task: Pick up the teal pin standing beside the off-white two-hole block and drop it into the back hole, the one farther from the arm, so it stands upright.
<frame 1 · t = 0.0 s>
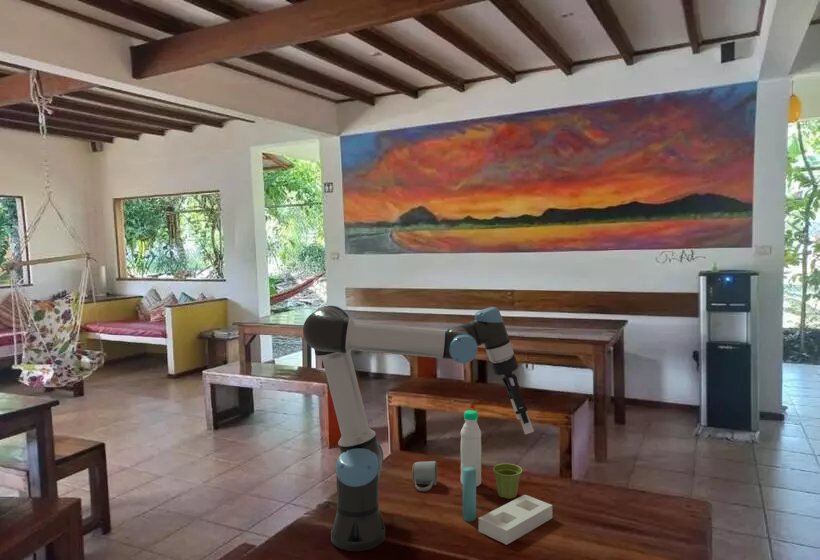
hand: (525, 425, 172), 28 cm above the table, tool tilted 20°, fingers open, 13 cm apart
hole block: (516, 524, 168), on the table
plant pot: (507, 495, 188), on the table
teal pin: (469, 518, 172), on the table
ceramic mug: (425, 485, 196), on the table
water bottle: (470, 484, 197), on the table
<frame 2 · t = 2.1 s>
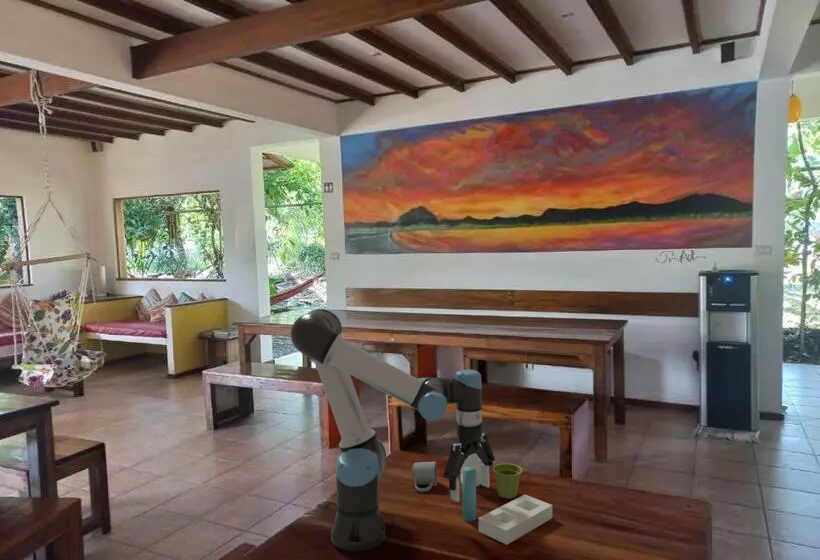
hand: (470, 492, 172), 8 cm above the table, tool pointing down, fingers open, 13 cm apart
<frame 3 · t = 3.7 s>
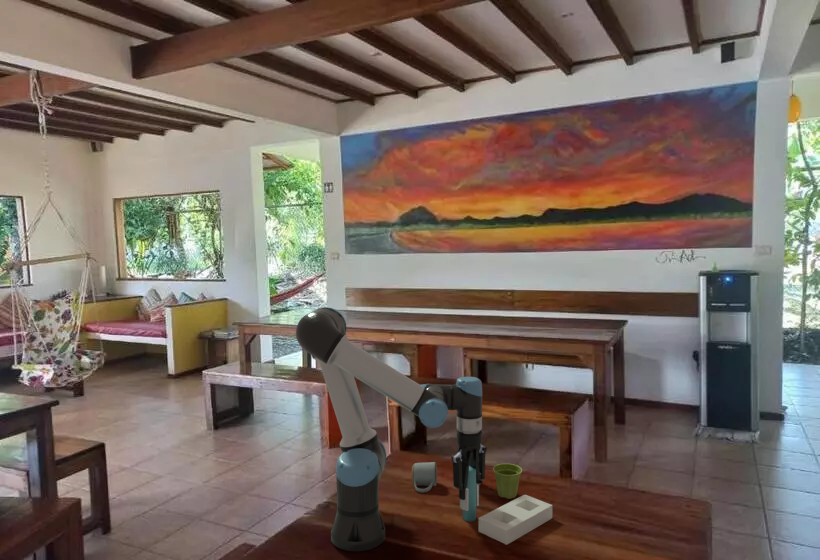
hand: (469, 506, 172), 4 cm above the table, tool pointing down, fingers closed on teal pin, 4 cm apart
teal pin: (469, 518, 172), on the table, touching gripper
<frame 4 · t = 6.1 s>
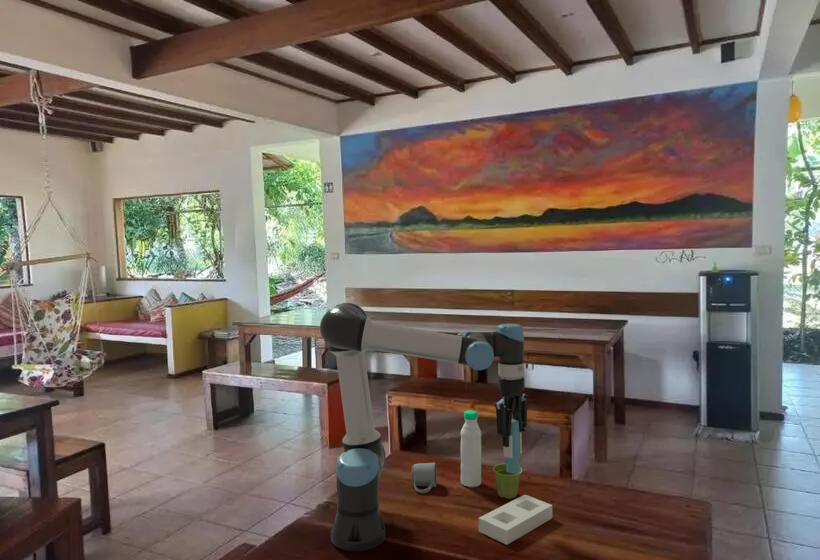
hand: (512, 454, 171), 20 cm above the table, tool pointing down, fingers closed on teal pin, 4 cm apart
teal pin: (512, 470, 171), point 15 cm above the table, touching gripper
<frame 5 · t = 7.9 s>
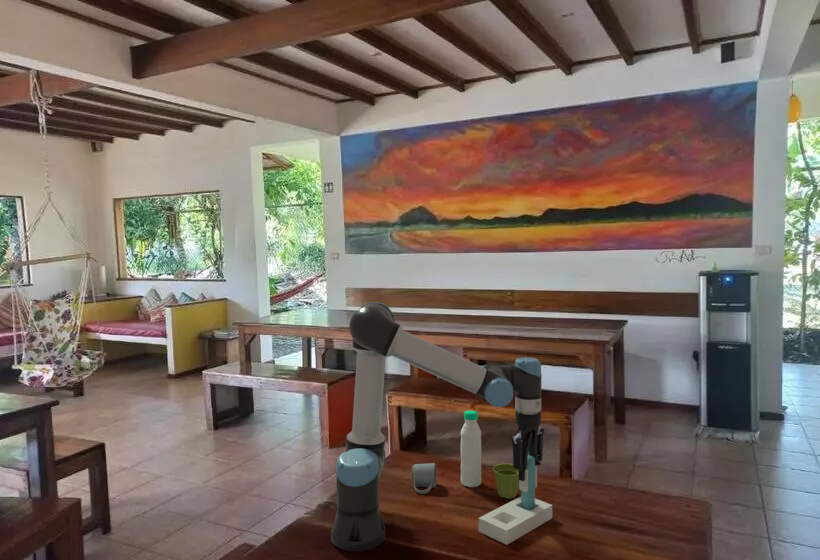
hand: (528, 487, 171), 9 cm above the table, tool pointing down, fingers closed on teal pin, 4 cm apart
teal pin: (528, 506, 172), point 4 cm above the table, touching gripper
when the fingers open (6 cm above the table, at t = 8.9 s): teal pin stays where it is, resting on hole block.
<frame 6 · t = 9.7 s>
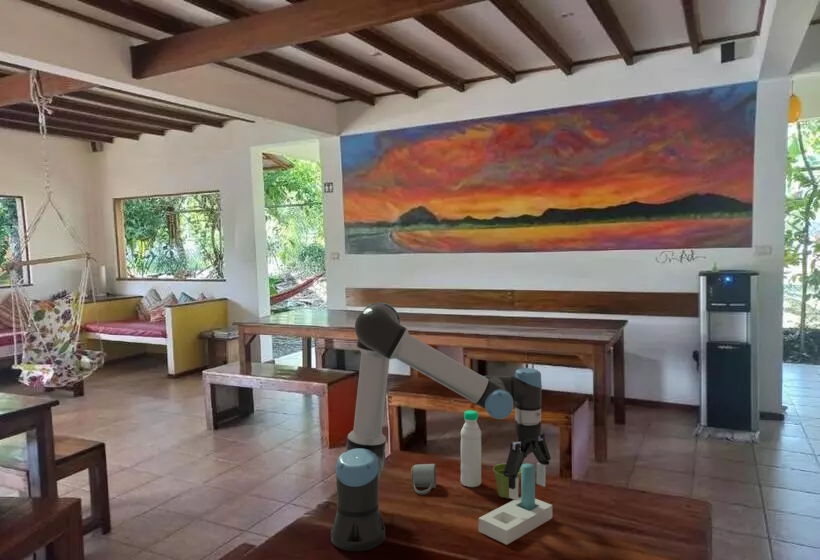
hand: (527, 491, 171), 8 cm above the table, tool pointing down, fingers open, 13 cm apart
teal pin: (528, 515, 172), point 1 cm above the table, touching hole block
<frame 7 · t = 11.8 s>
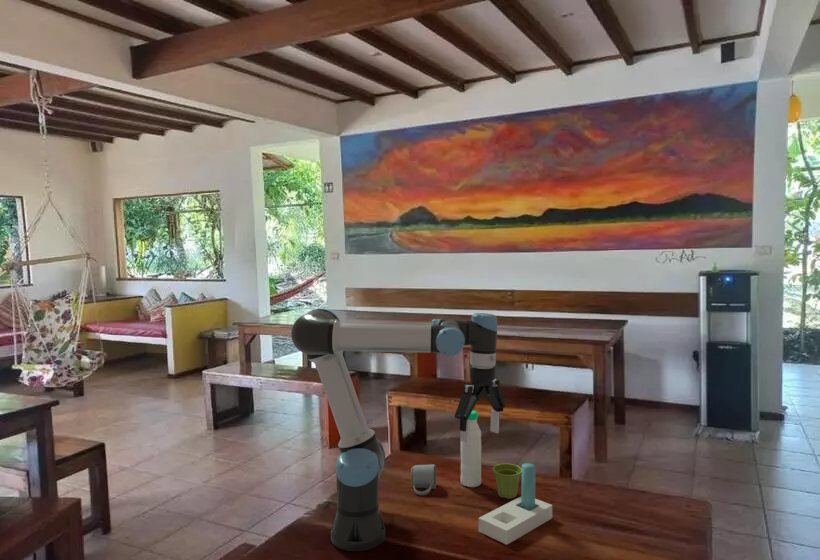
hand: (479, 436, 171), 25 cm above the table, tool pointing down, fingers open, 13 cm apart
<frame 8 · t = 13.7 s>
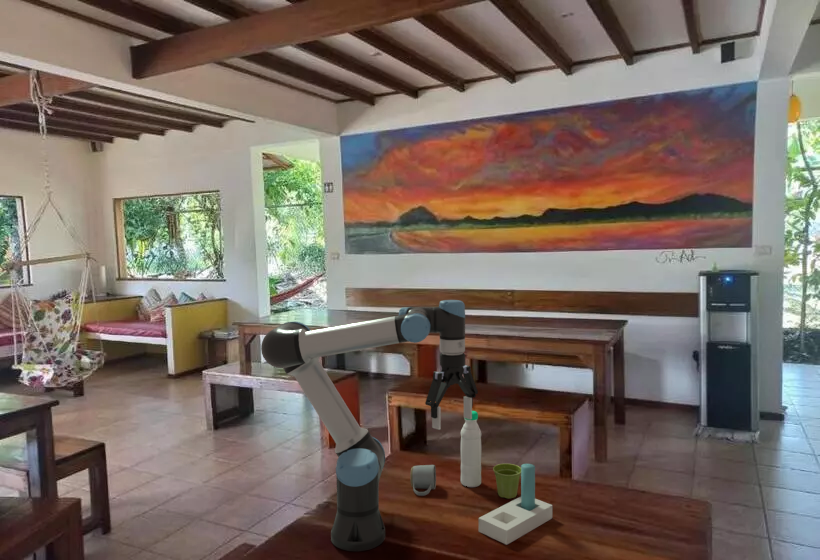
hand: (452, 423, 171), 29 cm above the table, tool pointing down, fingers open, 13 cm apart
at the end: teal pin 0.1 cm from the target spot on the hole block, point 1.0 cm above the hole block's base; teal pin tilted 1°; the gripper is holding nothing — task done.
